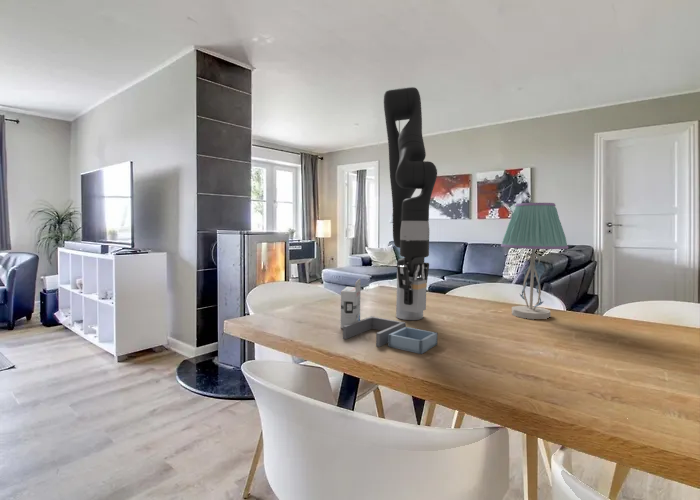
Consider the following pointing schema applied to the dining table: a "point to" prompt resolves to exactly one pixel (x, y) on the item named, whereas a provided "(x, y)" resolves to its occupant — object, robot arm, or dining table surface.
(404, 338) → the tray
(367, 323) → the bay
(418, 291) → the tan-banded grey block
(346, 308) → the ink box
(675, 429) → the dining table surface
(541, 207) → the table lamp
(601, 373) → the dining table surface
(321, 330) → the dining table surface
